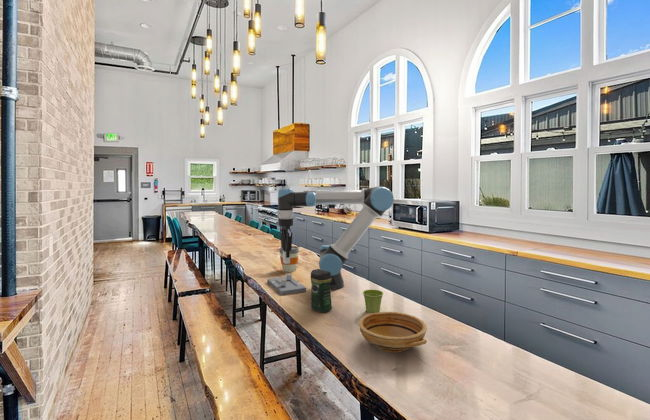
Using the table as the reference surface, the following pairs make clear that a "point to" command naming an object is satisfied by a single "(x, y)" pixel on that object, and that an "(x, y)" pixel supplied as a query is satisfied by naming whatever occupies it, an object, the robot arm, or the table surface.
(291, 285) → the console
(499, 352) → the table surface
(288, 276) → the fader
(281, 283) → the fader
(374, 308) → the plant pot
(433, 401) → the table surface
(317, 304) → the coffee jar
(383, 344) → the ceramic bowl
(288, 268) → the reusable coffee cup
